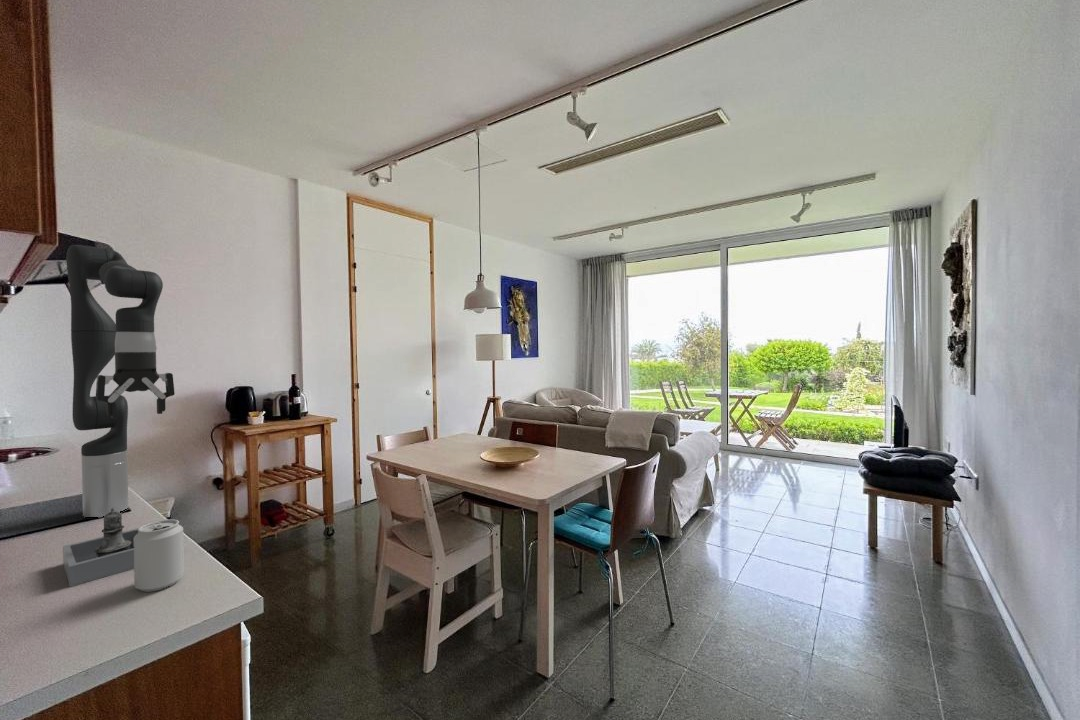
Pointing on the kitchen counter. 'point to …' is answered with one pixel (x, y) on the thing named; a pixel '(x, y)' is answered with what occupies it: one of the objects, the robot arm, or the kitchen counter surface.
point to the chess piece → (112, 535)
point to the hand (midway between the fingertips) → (137, 415)
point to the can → (158, 555)
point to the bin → (96, 560)
